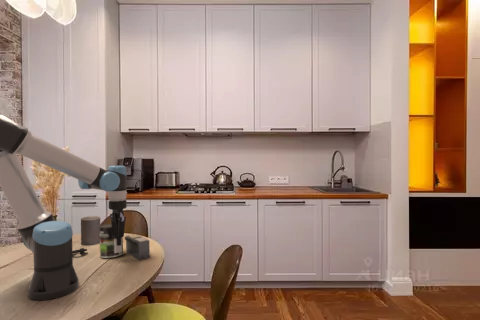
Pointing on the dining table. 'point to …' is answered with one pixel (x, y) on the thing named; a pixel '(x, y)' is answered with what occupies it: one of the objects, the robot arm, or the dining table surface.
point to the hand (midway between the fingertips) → (118, 252)
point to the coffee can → (107, 242)
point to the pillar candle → (90, 230)
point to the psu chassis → (137, 247)
